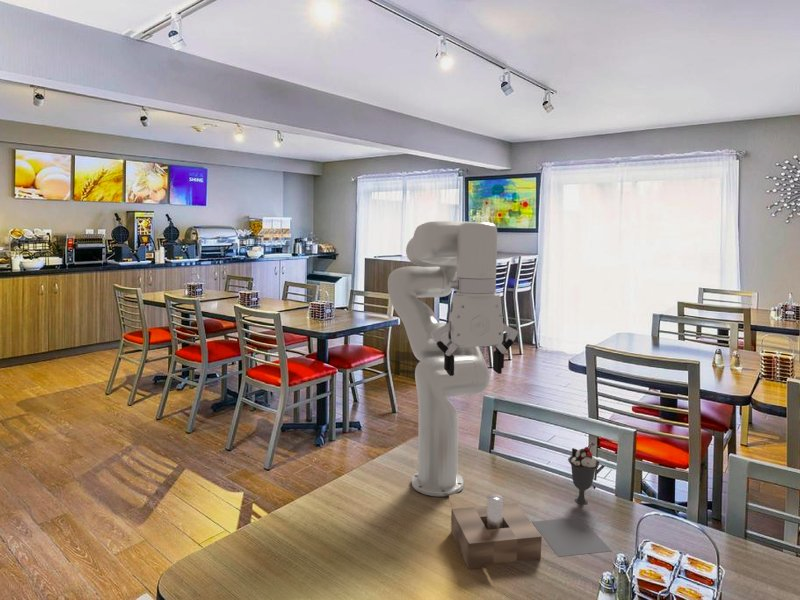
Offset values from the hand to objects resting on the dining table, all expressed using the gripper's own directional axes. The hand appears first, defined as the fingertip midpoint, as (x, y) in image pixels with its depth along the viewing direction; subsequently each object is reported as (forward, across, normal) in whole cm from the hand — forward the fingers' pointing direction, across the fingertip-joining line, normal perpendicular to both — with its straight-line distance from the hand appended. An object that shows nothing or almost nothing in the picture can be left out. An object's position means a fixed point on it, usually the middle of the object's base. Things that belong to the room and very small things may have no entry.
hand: (473, 373), depth 103 cm
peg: (+33, +3, -6) cm, 34 cm away
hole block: (+33, +3, -6) cm, 34 cm away
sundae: (+34, +28, +6) cm, 44 cm away
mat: (+33, +19, -6) cm, 39 cm away
